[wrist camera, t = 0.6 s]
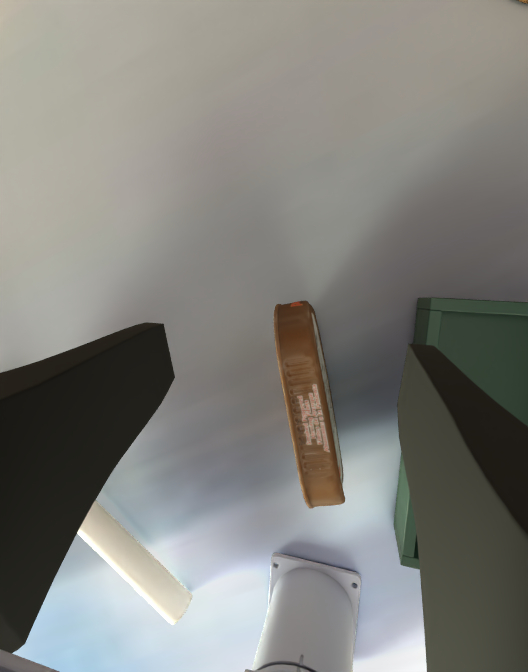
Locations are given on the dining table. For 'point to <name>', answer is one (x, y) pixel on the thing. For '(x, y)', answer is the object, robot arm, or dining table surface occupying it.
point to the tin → (308, 404)
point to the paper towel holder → (135, 563)
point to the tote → (470, 372)
